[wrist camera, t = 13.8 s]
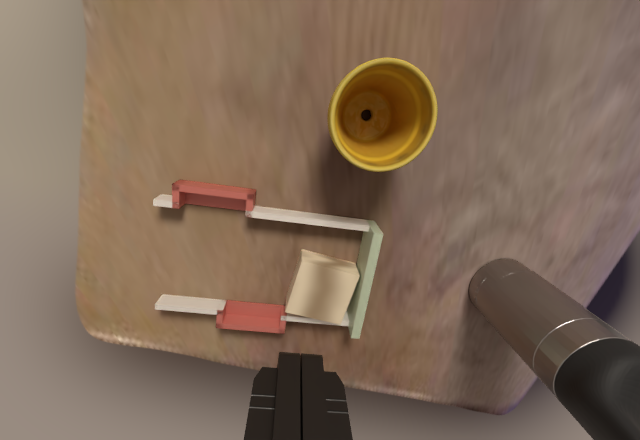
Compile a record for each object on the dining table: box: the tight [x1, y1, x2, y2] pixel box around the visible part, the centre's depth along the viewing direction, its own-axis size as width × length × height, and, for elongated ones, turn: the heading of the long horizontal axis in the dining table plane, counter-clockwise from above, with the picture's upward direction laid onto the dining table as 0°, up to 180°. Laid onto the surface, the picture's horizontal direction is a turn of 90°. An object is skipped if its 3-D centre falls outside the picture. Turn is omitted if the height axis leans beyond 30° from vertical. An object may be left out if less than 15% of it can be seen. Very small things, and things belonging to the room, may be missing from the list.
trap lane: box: [153, 180, 383, 339], centre depth 43 cm, size 28×20×5 cm
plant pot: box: [328, 58, 437, 172], centre depth 35 cm, size 10×10×10 cm
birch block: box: [285, 249, 360, 325], centre depth 45 cm, size 8×8×4 cm
